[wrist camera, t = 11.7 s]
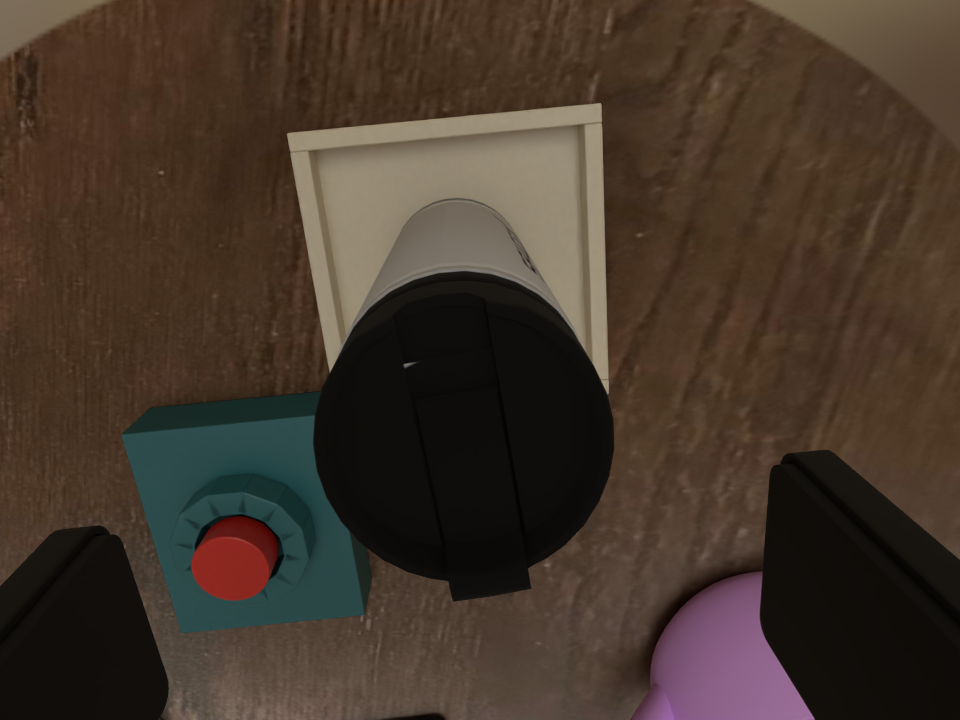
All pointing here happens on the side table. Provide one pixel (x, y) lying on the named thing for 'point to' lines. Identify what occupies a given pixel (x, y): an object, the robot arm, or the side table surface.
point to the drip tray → (458, 174)
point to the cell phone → (428, 718)
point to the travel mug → (463, 409)
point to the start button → (235, 558)
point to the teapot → (720, 661)
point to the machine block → (246, 507)
